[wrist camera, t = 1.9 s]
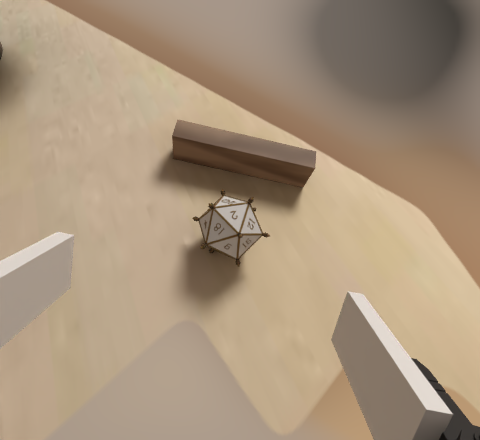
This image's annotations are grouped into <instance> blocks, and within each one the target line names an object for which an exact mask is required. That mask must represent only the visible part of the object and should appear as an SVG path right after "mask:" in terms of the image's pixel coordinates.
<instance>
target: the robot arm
mask: <svg viewBox="0 0 480 440" xmlns="http://www.w3.org/2000/svg"><path fill="white" fill-rule="evenodd" d="M2 51H3V50H2V44H1V42H0V59H1V56H2ZM73 245H74V235H71V234H66V233H61V232H56V233H54V234H52V235H50V236H48V237H46V238H45V239H43V240H41V241H39V242H37V243H35V244H33V245H31V246H29V247H27V248H25V249H23V250H21V251H19V252H17V253H15V254H13V255H11V256H9V257H7V258H5V259H3V260H1V261H0V349H1V348H2V347H3V346H4V345H5V344H6V343H7V342H9V341H10V340H11V339H12V338H13V337H14V336H16V335H17V334H18V333H19V332H20V331H21V330H22V329H24V328H25V327H26V326H27V325H28V324H29V323H31V322H32V321H33V320H34V319H35V318H36V317H37V316H39V315H40V314H41V313H42V312H43V311H44V310H45V309H47V308H48V307H49V306H50V305H51V304H52V303H54V302H55V301H56V300H57V299H58V298H59V297H60V296H62V295H63V294H64V293H65V292H66V291H67V290H69V289H70V284H71V271H72V258H73ZM331 340H332V342H333V345H334V347H335V350H336V352H337V354H338V357H339V359H340V361H341V364H342V366H343V368H344V371H345V373H346V375H347V378H348V380H349V382H350V385H351V387H352V389H353V392H354V394H355V396H356V399H357V401H358V404H359V406H360V408H361V410H362V413H363V415H364V418H365V420H366V422H367V425H368V427H369V429H370V432H371V434H372V436H373V439H374V440H480V427H478V426H474V425H472V424H471V423H470V422H469V420H468V419H467V418H466V416H465V415H464V414H463V413H462V411H461V410H460V409H459V407H458V406H457V405H456V404H455V402H454V401H453V400H452V399H451V397H450V396H449V395H448V394H447V393H446V392H445V390H444V388H443V387H442V386H441V385H440V384H439V383H438V381H437V379H436V378H435V377H434V376H433V374H432V373H431V372H430V371H429V370H428V369H427V368H426V367H425V366H424V365H423V364H421V363H420V362H419V361H418V360H417V359H413V358H410V356H409V355H408V354H407V352H406V351H405V350H404V348H403V347H402V346H401V344H400V343H399V342H398V340H397V339H396V338H395V336H394V335H393V334H392V332H391V331H390V330H389V328H388V327H387V326H386V324H385V323H384V322H383V320H382V319H381V318H380V316H379V315H378V314H377V312H376V311H375V310H374V308H373V307H372V306H371V304H370V303H369V302H368V300H367V299H366V298H365V296H364V295H363V294H359V293H354V292H350V291H348V292H347V295H346V298H345V301H344V304H343V307H342V309H341V312H340V315H339V318H338V321H337V324H336V327H335V330H334V333H333V336H332V339H331Z"/></svg>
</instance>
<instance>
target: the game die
mask: <svg viewBox="0 0 480 440" xmlns="http://www.w3.org/2000/svg"><path fill="white" fill-rule="evenodd" d="M221 194H222V197H221V198H220V199H219V200H218V201H217V202H216V203H215V204H212V203H211V204H210V203H209V207H210V208H209V209H208V210H207V211H206V212H205V213H204V214H203V215H202V216H201V217H200V218H198V217H193V219H194V221H199V224H200V227H201V231H202V234H203V238H204V241H205V244H202V245H201V248H200V249H204V248H205V247H206V246H208V247H210V248H211V249H210V250H209V251H210V253H213V251H214V250H216V251H218V252H220V253H222V254H225V255H227V256H229V257H231V258H233V259H236V264H237V265H238V266H239V265H240V261H239V258H240V257H241V256H242V255H243V254H244V253H245V252H246V251H247V250H248V249H249V248H250V247H251V246H252V245H253V244H254V243H255V242H256V241H257V240H258V239H259V238H260V237H261V236H264V237H269V236H270V235H269V234H268V233H263V232H262V229H261V227H260V225H259V222H258V220H257V218H256V215H255V213H254V211H256V208H252V206H251V204H250V203H252V201H253V198H254V197H252V198H250V199H249V201H248V202H247V201H243V200H240V199H236V198H232V197H229V196H225V191H224V190H223V189H222V191H221Z"/></svg>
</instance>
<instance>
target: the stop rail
mask: <svg viewBox="0 0 480 440" xmlns="http://www.w3.org/2000/svg"><path fill="white" fill-rule="evenodd" d="M172 140H173V157H174V159H177V160H182V161H186V162H191V163H195V164H200V165H204V166H209V167H213V168H218V169H222V170H227V171H231V172H236V173H240V174H245V175H249V176H254V177H258V178H263V179H267V180H272V181H276V182H281V183H285V184H290V185H294V186H299V187H304V185H305V184H306V182H307V180H308V179H309V177H310V176H311V174H312V172H313V171H314V169H315V162H316V151H312V150H307V149H303V148H299V147H294V146H290V145H286V144H281V143H277V142H273V141H268V140H264V139H260V138H255V137H251V136H247V135H242V134H238V133H234V132H229V131H225V130H221V129H216V128H212V127H208V126H203V125H199V124H195V123H190V122H186V121H182V120H177V123H176V126H175V129H174V132H173V135H172Z"/></svg>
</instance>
